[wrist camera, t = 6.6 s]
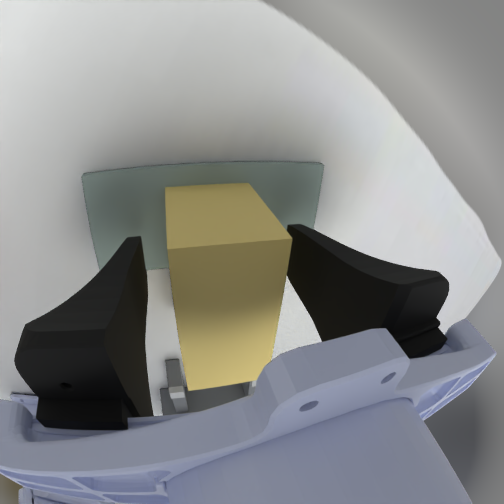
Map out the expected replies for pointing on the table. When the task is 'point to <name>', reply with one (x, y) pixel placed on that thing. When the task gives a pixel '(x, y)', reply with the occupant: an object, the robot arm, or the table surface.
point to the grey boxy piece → (197, 393)
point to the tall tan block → (225, 280)
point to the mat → (158, 177)
